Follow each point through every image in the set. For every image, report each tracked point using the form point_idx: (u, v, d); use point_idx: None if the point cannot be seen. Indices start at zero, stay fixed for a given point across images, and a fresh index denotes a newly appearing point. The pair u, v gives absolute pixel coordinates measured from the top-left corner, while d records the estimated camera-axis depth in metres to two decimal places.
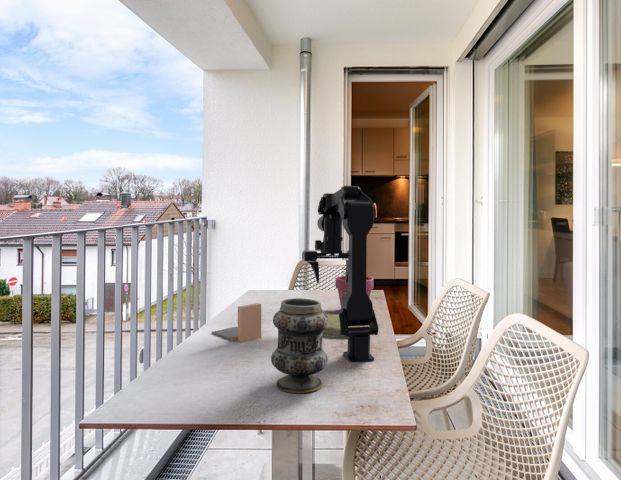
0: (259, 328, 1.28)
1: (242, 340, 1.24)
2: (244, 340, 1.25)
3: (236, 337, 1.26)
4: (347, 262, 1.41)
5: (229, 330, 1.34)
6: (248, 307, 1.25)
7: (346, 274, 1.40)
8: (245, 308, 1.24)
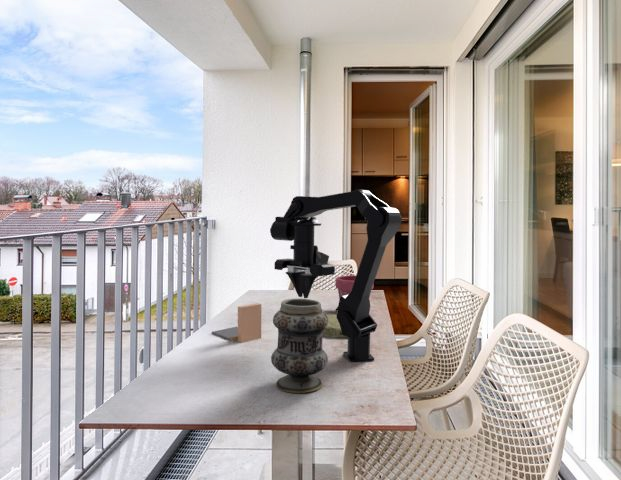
0: (259, 328, 1.28)
1: (242, 340, 1.24)
2: (244, 340, 1.25)
3: (236, 337, 1.26)
4: None
5: (229, 330, 1.34)
6: (248, 307, 1.25)
7: None
8: (245, 308, 1.24)
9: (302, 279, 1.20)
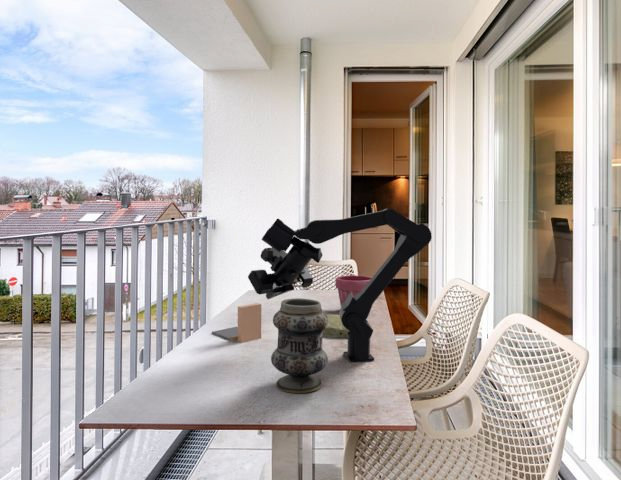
0: (259, 328, 1.28)
1: (242, 340, 1.24)
2: (244, 340, 1.25)
3: (236, 337, 1.26)
4: None
5: (229, 330, 1.34)
6: (248, 307, 1.25)
7: None
8: (245, 308, 1.24)
9: (285, 292, 1.18)
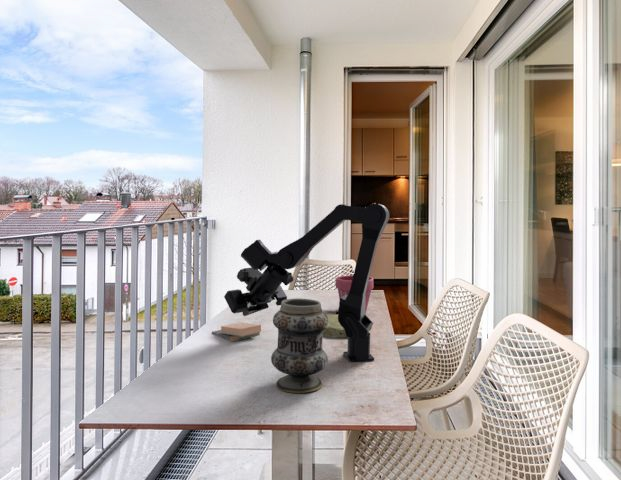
0: (252, 324, 1.30)
1: (240, 328, 1.25)
2: (243, 328, 1.25)
3: (236, 337, 1.26)
4: None
5: None
6: (228, 325, 1.32)
7: None
8: (225, 325, 1.32)
9: (260, 310, 1.25)
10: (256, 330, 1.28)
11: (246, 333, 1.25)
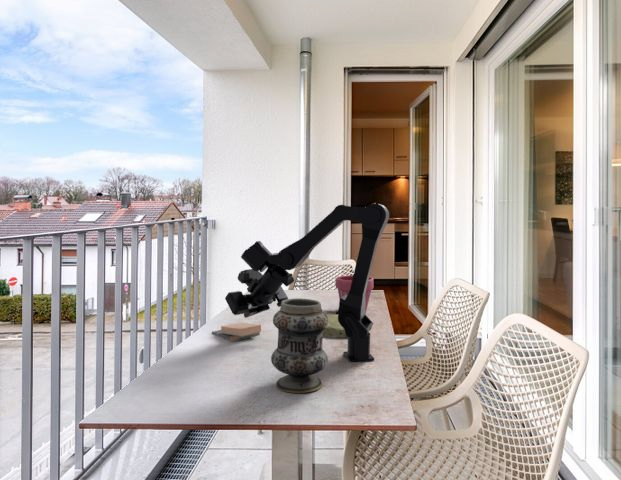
0: (252, 324, 1.30)
1: (240, 328, 1.25)
2: (243, 328, 1.25)
3: (236, 337, 1.26)
4: None
5: None
6: (228, 325, 1.32)
7: None
8: (225, 325, 1.32)
9: (261, 311, 1.25)
10: (256, 330, 1.28)
11: (246, 333, 1.25)
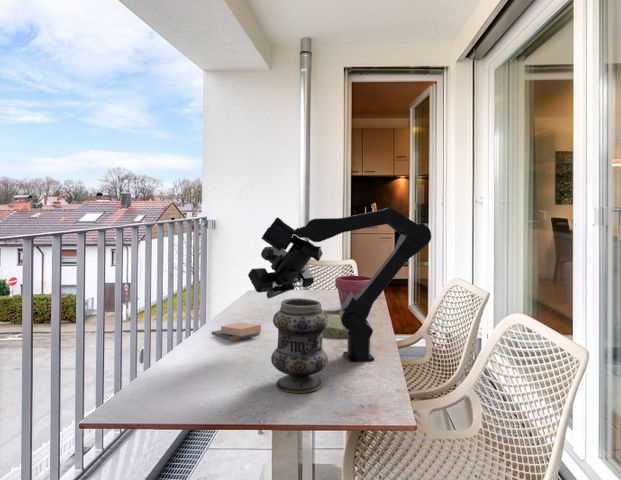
0: (252, 324, 1.30)
1: (240, 328, 1.25)
2: (243, 328, 1.25)
3: (236, 337, 1.26)
4: None
5: None
6: (228, 325, 1.32)
7: None
8: (225, 325, 1.32)
9: (285, 291, 1.18)
10: (256, 330, 1.28)
11: (246, 333, 1.25)
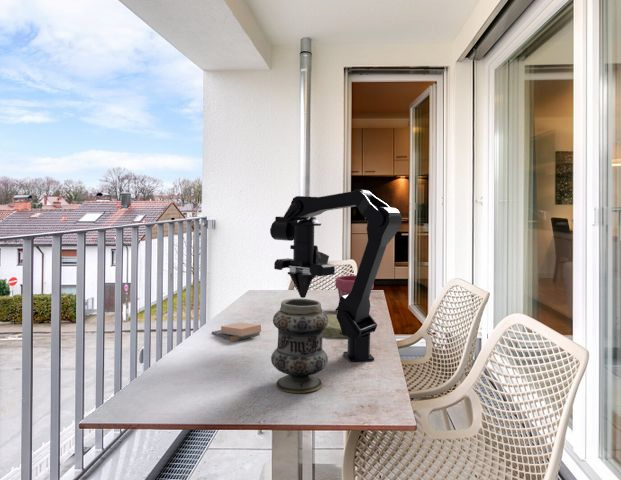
0: (252, 324, 1.30)
1: (240, 328, 1.25)
2: (243, 328, 1.25)
3: (236, 337, 1.26)
4: None
5: None
6: (228, 325, 1.32)
7: None
8: (225, 325, 1.32)
9: (300, 279, 1.20)
10: (256, 330, 1.28)
11: (246, 333, 1.25)
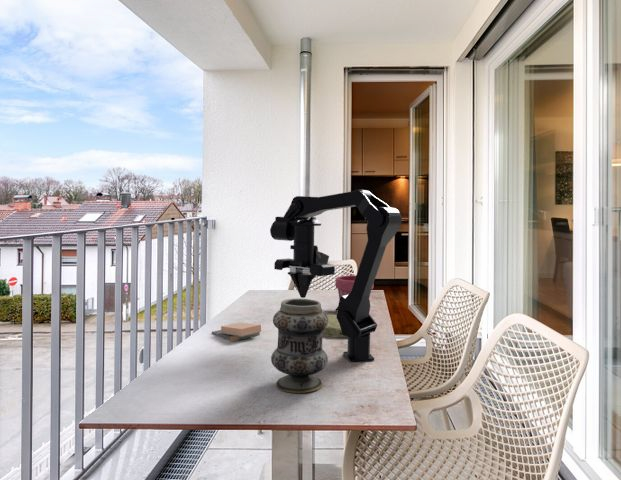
0: (252, 324, 1.30)
1: (240, 328, 1.25)
2: (243, 328, 1.25)
3: (236, 337, 1.26)
4: None
5: None
6: (228, 325, 1.32)
7: None
8: (225, 325, 1.32)
9: (300, 279, 1.20)
10: (256, 330, 1.28)
11: (246, 333, 1.25)
